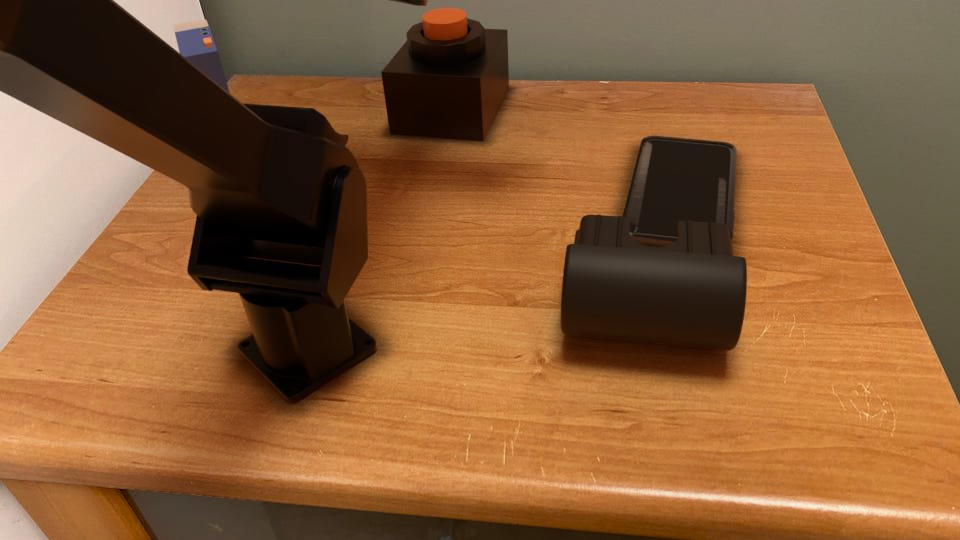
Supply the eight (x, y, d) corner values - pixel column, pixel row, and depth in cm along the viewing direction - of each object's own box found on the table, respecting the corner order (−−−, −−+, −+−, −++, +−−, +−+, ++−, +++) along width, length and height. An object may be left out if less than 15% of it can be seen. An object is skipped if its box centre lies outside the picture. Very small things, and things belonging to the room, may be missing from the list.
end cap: (558, 362, 44) (560, 276, 40) (570, 287, 50) (573, 204, 45) (730, 380, 42) (751, 292, 38) (722, 300, 48) (741, 215, 43)
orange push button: (461, 44, 64) (460, 24, 63) (418, 42, 65) (416, 22, 64) (472, 27, 67) (471, 8, 66) (431, 25, 68) (429, 6, 67)
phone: (617, 234, 52) (643, 133, 63) (616, 247, 53) (641, 145, 64) (733, 249, 50) (738, 142, 61) (730, 262, 51) (736, 154, 62)
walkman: (255, 181, 62) (216, 45, 55) (222, 189, 62) (178, 52, 54) (242, 141, 68) (205, 13, 61) (212, 148, 67) (171, 20, 60)
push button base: (483, 142, 66) (479, 57, 61) (389, 134, 68) (378, 51, 63) (509, 89, 74) (507, 10, 69) (424, 84, 76) (416, 7, 71)
